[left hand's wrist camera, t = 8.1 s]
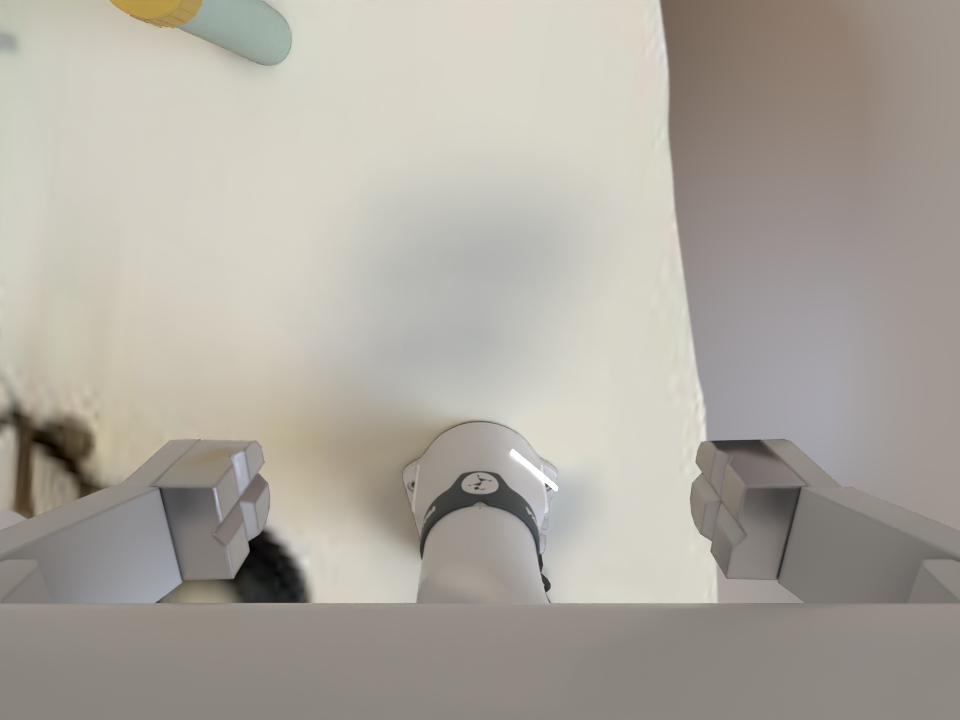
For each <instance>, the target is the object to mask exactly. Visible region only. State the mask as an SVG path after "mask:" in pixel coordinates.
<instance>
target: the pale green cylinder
mask: <svg viewBox="0 0 960 720" xmlns="http://www.w3.org/2000/svg"><path fill="white" fill-rule="evenodd" d="M176 27H177V28H179V29H181V30H183V31H186V32H188V33H190V34H193V35H195V36H197V37H200V38H202V39H204V40H207V41H209V42H211V43H213V44H216V45H218V46H220V47H223V48H225V49H227V50H230V51H232V52H234V53H237V54H239V55H241V56H243V57H246V58H248V59H250V60H253V61H255V62H257V63H260V64H263V65H275V64H277V63H279V62H281V61H282V60H283V59H284V58H285V57H286V56H287V54H288V52H289V50H290V46H291V32H290V29H289V26H288V24H287V22H286V20H285V19H284V17H283V16H282V15H281V14H280V13H279V12H278V11H276V10H275V9H274V8H272V7H271V6H270V5H268V4H267V3H265V2H264V1H263V0H203V2H202V6H201V7H200V9H199V10H198V12H197V13H196V15H195V17H193V18H192V19H191V20H189V21H188V22H186V24H185V25H184V24H182V25H180V26H176Z"/></svg>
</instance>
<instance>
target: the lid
mask: <svg viewBox="0 0 960 720" xmlns="http://www.w3.org/2000/svg"><path fill="white" fill-rule="evenodd" d="M110 1H111V2H112V3H113V4H114V5H115V6H117V7H118V8H119V9H121V10H122V11H124V12H126V13H128V14H130V16H131V17H134V18H136V19H139V20H141V21H143V22H146V23H150V24H153V25H155V26H157V27H160V28H162V27H171V28H174V27H176V26H180V25H182V24H184V25H185V24H186V22H188V21H189V20H191V19H192V18H193V17H195V15H196V13H197V12H198V10H199V9H200V7H201V6H202V2H203V0H110Z"/></svg>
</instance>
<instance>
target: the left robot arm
mask: <svg viewBox="0 0 960 720" xmlns="http://www.w3.org/2000/svg"><path fill="white" fill-rule="evenodd" d="M263 464H264V457H263V452H262V447H261V445H260V444H259V443H258V442H257V441H244V440H201V439H187V440H170V441H169V442H168V443H167V444H165V445H164V446H163V447H162V448H161V449H160V450H159V451H158V452H156V453H155V454H154V455H153V456H152V457H151V458H150V459H149V460H148V461H146V462H145V463H144V464H143V465H142V466H141V467H140V468H139V469H137V470H136V471H135V472H134V473H133V474H132V475H131V476H130V477H128V478H127V479H126V480H125V481H124V482H123V483H122V484H121V485H120V486H118V487H107V488H105V489H102V490H100V491H98V492H95V493H93V494H90V495H88V496H85V497H83V498H80V499H78V500H75V501H73V502H70V503H68V504H65V505H63V506H60V507H58V508H55V509H53V510H50V511H48V512H45V513H43V514H40V515H38V516H35V517H33V518H30V519H28V520H25V521H23V522H20V523H18V524H15V525H13V526H10V527H8V528H5V529H3V530H1V531H0V720H960V531H959V530H957V529H954V528H952V527H949V526H947V525H944V524H942V523H939V522H937V521H935V520H932V519H930V518H927V517H925V516H922V515H920V514H917V513H915V512H912V511H910V510H907V509H905V508H902V507H900V506H897V505H895V504H892V503H890V502H887V501H885V500H882V499H880V498H877V497H875V496H872V495H870V494H867V493H865V492H862V491H860V490H857V489H855V488H853V487H842V486H840V485H839V484H838V483H837V482H836V481H835V480H834V479H833V478H832V477H830V476H829V475H828V474H827V473H826V472H825V471H824V470H823V469H822V468H820V467H819V466H818V465H817V464H816V463H815V462H814V461H813V460H811V459H810V458H809V457H808V456H807V455H806V454H805V453H804V452H803V451H801V450H800V449H799V448H798V447H797V446H796V445H795V444H794V443H792V442H791V441H789V440H785V439H773V440H726V441H705V442H701V444H700V446H699V448H698V451H697V456H696V464H697V465H698V467H699V469H700V470H701V472H702V473H701V474H700V475H699V476H698V477H697V478H696V480H695V481H694V482H693V483H692V487H691V495H690V504H691V514H692V517H693V520H694V523H695V525H696V527H697V529H698V531H699V533H700V534H701V535H703V536H704V537H706V538H708V539H709V540H711V541H712V545H711V553H712V555H713V556H714V558H715V560H716V561H717V563H718V565H719V566H720V568H721V570H722V571H723V573H724V575H725V576H726V578H727V579H756V580H778V583H779V584H781V585H782V586H783V587H785V588H786V589H787V590H789V591H790V592H791V593H793V594H794V595H795V596H797V597H798V598H799V599H801V600H802V601H804V602H805V603H550V601H549V599H548V597H547V595H546V592H547V591H548V590H549V589H550V586H551V585H550V582H549V581H548V579H547V578H546V577H545V576H544V575H543V574H542V573H541V571H542V567H543V562H542V556H541V554H543V553H544V551H545V544H546V538H545V535H544V534H541V533H542V530H546V529H547V526H548V518H546V516H547V512H548V509H549V505H550V502H551V498H552V495H553V491H554V490H555V491H557V490H558V488H557V486H556V481H557V470H556V469H555V467H554V466H552V465H551V464H549V463H548V462H546V461H545V460H543V459H541V458H539V457H538V456H537V455H536V453H535V452H534V451H533V449H532V448H531V447H530V445H529V444H528V443H527V442H526V441H525V440H524V439H523V438H522V437H521V436H520V435H519V434H517V433H516V432H514V431H512V430H511V429H509V428H506V427H504V426H501V425H498V424H493V423H487V422H474V423H467V424H462V425H459V426H456V427H454V428H451V429H449V430H448V431H446V432H444V433H443V434H441V435H440V436H439V437H438V438H437V439H436V440H435V441H434V442H433V443H432V444H431V445H430V447H429V448H428V449H427V451H426V452H425V454H424V455H423V456H422V457H421V458H419V459H417V460H415V461H414V462H412V463H411V464H409V465H408V466H406V467H405V469H404V471H403V481H404V484H405V488H406V491H407V495H408V498H409V502H410V505H411V509H412V512H413V515H414V519H415V522H416V526H417V529H418V533H419V536H420V541H421V543H420V553H421V559H422V566H421V573H420V580H419V587H418V594H417V603H155V602H157V601H158V600H159V599H161V598H162V597H163V596H165V595H166V594H167V593H169V592H170V591H171V590H173V589H174V588H175V587H177V586H178V585H180V584H181V583H182V580H203V579H233V578H234V577H235V575H236V573H237V571H238V570H239V568H240V566H241V565H242V563H243V561H244V560H245V558H246V556H247V555H248V553H249V545H248V541H249V540H251V539H252V538H254V537H256V536H257V535H259V534H260V533H261V531H262V529H263V527H264V525H265V523H266V520H267V516H268V512H269V508H270V493H269V487H268V483H267V482H266V481H265V480H264V478H263V477H262V476H261V475H260V474H259V473H258V472H259V470H260V469H261V467H262V465H263ZM412 482H415V484H413V483H412ZM545 482H546V483H547V484H545ZM543 583H544V585H545V586H543Z"/></svg>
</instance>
